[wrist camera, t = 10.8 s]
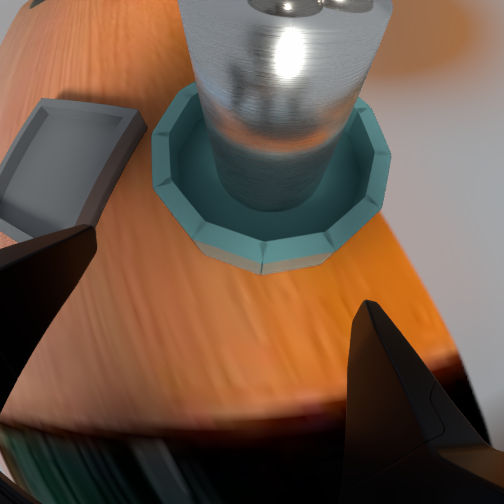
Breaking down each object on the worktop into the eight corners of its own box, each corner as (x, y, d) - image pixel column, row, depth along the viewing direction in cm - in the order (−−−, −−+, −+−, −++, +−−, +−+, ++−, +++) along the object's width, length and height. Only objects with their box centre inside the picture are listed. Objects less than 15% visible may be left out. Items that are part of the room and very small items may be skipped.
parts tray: (76, 272, 17) (58, 266, 15) (-7, 223, 18) (-23, 215, 16) (147, 127, 19) (138, 109, 17) (52, 111, 20) (41, 98, 18)
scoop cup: (267, 235, 17) (297, 18, 4) (195, 160, 18) (130, -38, 5) (343, 168, 17) (435, -16, 5) (271, 106, 19) (283, -77, 6)
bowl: (338, 303, 17) (358, 298, 13) (135, 228, 18) (111, 209, 14) (381, 129, 19) (398, 100, 16) (216, 79, 20) (211, 46, 17)
